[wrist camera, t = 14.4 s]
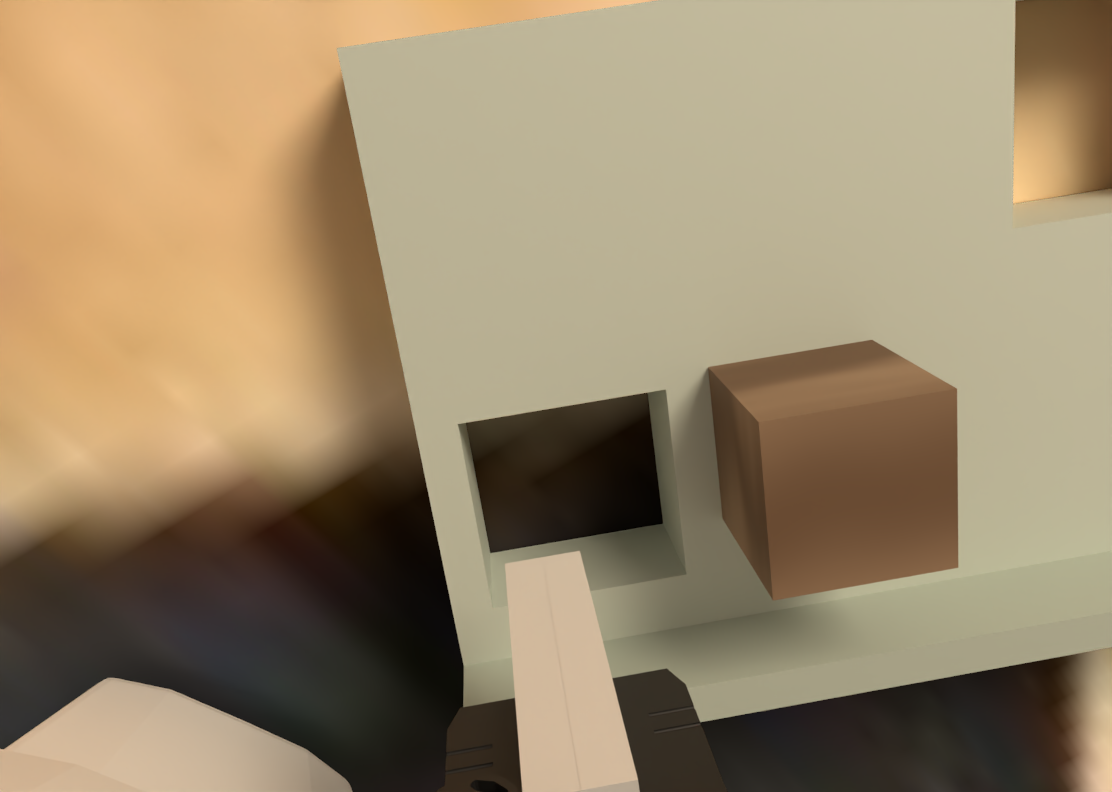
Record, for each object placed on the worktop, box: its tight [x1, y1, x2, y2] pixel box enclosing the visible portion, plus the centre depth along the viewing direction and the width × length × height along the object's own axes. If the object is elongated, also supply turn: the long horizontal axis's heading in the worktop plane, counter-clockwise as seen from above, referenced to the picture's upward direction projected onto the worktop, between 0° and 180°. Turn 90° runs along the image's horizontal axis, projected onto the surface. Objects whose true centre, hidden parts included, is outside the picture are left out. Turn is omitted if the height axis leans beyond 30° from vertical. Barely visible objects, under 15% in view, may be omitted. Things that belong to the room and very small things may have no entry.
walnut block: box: [708, 340, 958, 601], centre depth 20 cm, size 4×4×4 cm
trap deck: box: [337, 0, 1112, 722], centre depth 22 cm, size 16×27×6 cm, turn 98°
